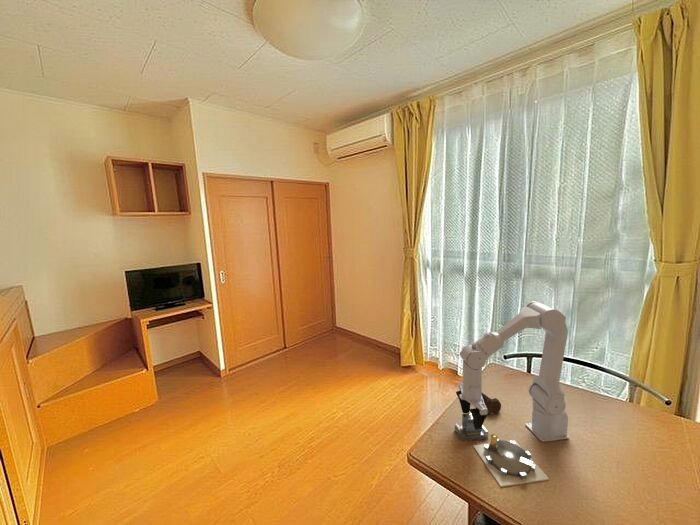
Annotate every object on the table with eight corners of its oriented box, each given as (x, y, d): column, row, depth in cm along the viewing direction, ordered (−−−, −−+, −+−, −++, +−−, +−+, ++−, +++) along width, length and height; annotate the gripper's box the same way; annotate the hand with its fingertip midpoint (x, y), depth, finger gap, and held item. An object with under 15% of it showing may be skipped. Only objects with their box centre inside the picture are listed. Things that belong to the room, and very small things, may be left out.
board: (514, 441, 92) (514, 439, 92) (548, 479, 79) (549, 478, 78) (473, 446, 91) (473, 445, 91) (500, 487, 77) (500, 485, 77)
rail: (479, 427, 99) (479, 420, 99) (488, 438, 94) (488, 431, 94) (454, 430, 98) (454, 423, 98) (461, 441, 93) (462, 434, 93)
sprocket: (490, 436, 94) (490, 420, 93) (538, 456, 85) (539, 438, 85) (478, 463, 84) (478, 446, 83) (531, 489, 75) (532, 469, 75)
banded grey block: (476, 425, 98) (476, 412, 97) (481, 432, 95) (481, 418, 94) (462, 427, 97) (462, 413, 96) (466, 434, 94) (466, 420, 93)
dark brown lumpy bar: (468, 394, 120) (497, 416, 106) (459, 391, 118) (487, 413, 104) (474, 382, 120) (503, 402, 106) (465, 378, 118) (494, 398, 104)
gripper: (450, 372, 100) (450, 407, 102) (472, 397, 86) (471, 438, 88) (469, 370, 101) (469, 405, 103) (494, 394, 86) (493, 435, 88)
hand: (471, 420), depth 95 cm, fingers open, 7 cm apart
